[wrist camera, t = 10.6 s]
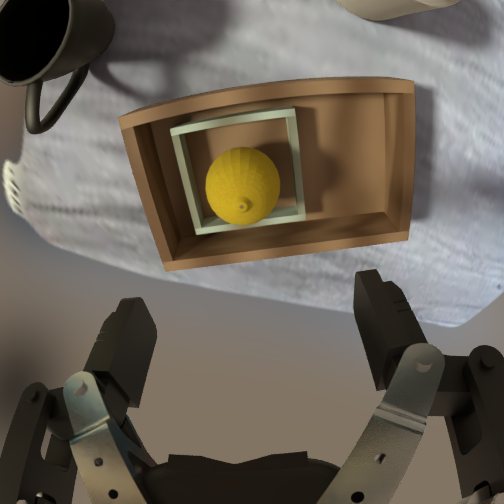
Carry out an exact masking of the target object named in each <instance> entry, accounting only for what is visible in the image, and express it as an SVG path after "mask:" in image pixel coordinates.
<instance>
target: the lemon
mask: <svg viewBox="0 0 504 504" xmlns="http://www.w3.org/2000/svg"><path fill="white" fill-rule="evenodd" d="M205 189H206V194H207V199H208V202H209V204H210V206H211V208H212V210H213V211H214V212H215V213H216V214H217V215H218V216H219V217H220V218H221V219H223V220H224V221H226V222H228V223H231V224H234V225H240V226H244V225H251V224H255V223H257V222H259V221H261V220H263V219H264V218H265V217H266V216H268V215H269V214H270V213H271V211H272V210H273V208H274V207H275V205H276V203H277V200H278V197H279V194H280V178H279V174H278V170H277V169H276V167H275V165H274V163H273V162H272V161H271V159H270V158H269V157H268V156H267V155H266V154H264V153H262V152H261V151H259V150H257V149H253V148H250V147H237V148H232V149H230V150H228V151H225V152H224V153H222V154H221V155H220V156H219V157H217V158H216V159H215V161H214V162H213V164H212V165H211V166H210V168H209V171H208V174H207V177H206V187H205Z"/></svg>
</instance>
